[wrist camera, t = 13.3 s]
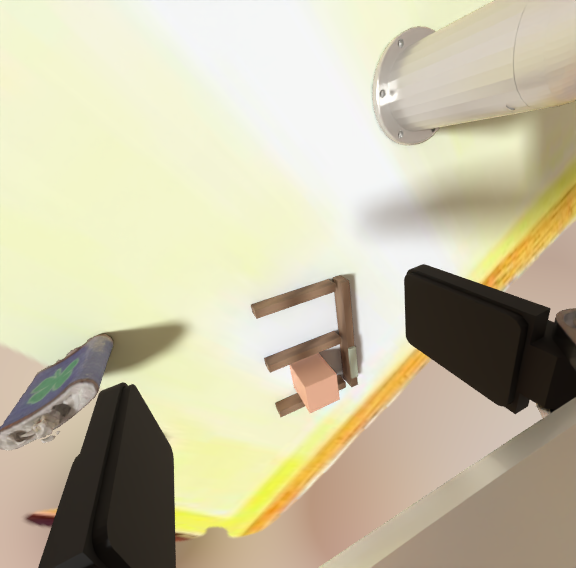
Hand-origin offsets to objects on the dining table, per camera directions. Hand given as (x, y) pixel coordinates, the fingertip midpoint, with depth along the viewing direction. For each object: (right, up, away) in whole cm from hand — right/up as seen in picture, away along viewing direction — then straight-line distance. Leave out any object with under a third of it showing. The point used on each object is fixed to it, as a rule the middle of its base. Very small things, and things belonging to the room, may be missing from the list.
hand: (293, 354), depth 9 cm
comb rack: (+2, -7, +35) cm, 36 cm away
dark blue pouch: (-25, -6, +23) cm, 35 cm away
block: (+3, -12, +37) cm, 39 cm away
